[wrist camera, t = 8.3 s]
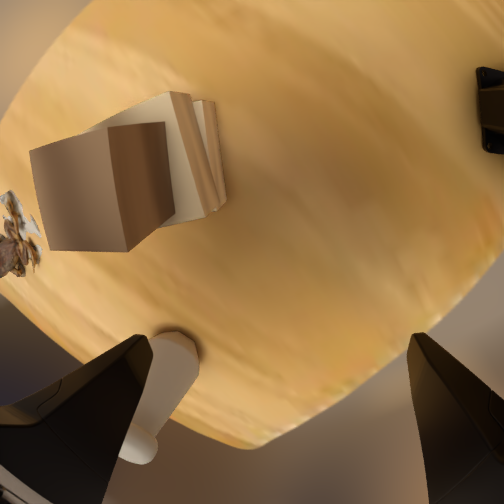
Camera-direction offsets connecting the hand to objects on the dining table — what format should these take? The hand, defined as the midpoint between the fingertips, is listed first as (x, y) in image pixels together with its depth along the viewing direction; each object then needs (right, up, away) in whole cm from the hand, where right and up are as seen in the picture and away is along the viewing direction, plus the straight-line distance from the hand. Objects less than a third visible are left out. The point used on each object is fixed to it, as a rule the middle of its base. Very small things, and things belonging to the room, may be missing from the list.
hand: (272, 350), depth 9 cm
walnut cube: (-7, +7, +6) cm, 12 cm away
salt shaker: (-8, -6, +19) cm, 21 cm away
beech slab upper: (-7, +9, +9) cm, 14 cm away
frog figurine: (-28, +4, +18) cm, 34 cm away
